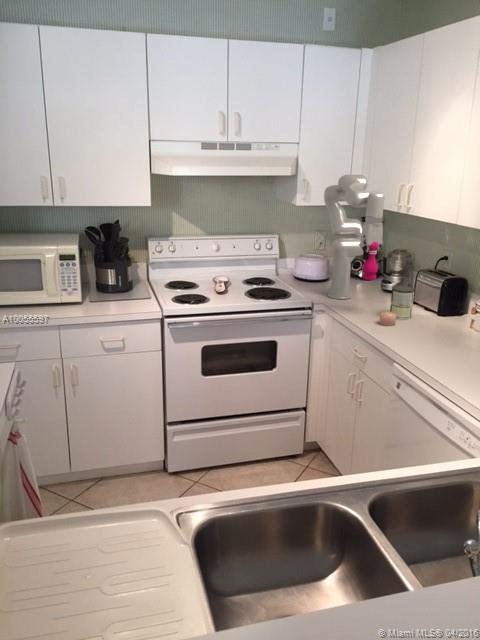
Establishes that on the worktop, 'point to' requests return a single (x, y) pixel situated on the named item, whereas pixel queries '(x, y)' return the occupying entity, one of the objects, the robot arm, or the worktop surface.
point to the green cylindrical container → (402, 301)
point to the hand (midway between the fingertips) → (370, 258)
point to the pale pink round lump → (387, 318)
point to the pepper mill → (370, 263)
